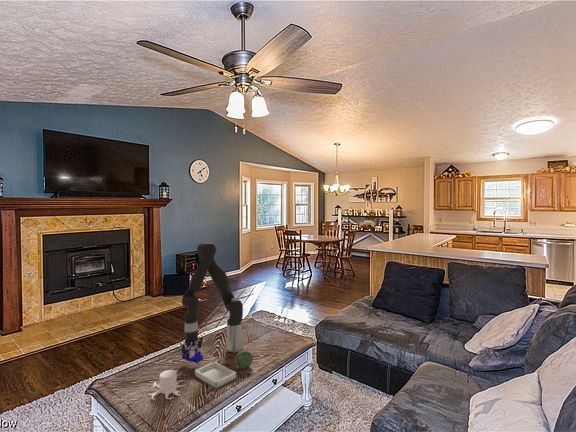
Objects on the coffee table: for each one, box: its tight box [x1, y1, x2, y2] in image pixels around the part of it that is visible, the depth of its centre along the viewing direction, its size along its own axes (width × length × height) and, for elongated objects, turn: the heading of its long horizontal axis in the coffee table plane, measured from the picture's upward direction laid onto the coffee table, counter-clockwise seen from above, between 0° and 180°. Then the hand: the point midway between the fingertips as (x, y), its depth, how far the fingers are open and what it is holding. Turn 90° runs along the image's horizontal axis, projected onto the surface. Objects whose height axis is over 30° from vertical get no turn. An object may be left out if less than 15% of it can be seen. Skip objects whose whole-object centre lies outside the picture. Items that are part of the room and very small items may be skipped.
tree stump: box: [148, 369, 186, 401], centre depth 162 cm, size 20×19×8 cm
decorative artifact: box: [234, 349, 254, 370], centre depth 181 cm, size 10×7×10 cm
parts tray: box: [194, 361, 238, 389], centre depth 173 cm, size 14×20×3 cm
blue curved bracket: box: [181, 346, 204, 364], centre depth 186 cm, size 12×4×6 cm, turn 61°
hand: (192, 357), depth 186 cm, fingers closed on blue curved bracket, 5 cm apart
